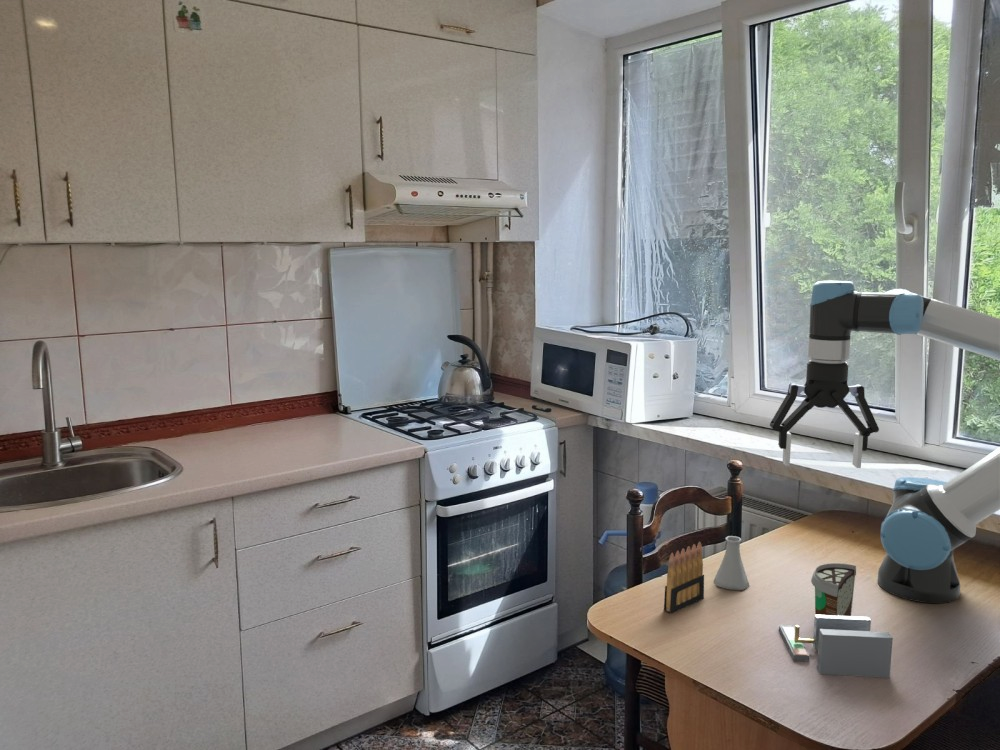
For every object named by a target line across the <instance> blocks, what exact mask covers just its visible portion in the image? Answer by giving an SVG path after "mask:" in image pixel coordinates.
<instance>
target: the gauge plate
mask: <svg viewBox="0 0 1000 750" xmlns="http://www.w3.org/2000/svg"><path fill="white" fill-rule="evenodd" d="M871 625H872V619H871V618H870V617H869V616H854V615H851V616H836V615H815V614H814V624H813V638H805V637H802V638H801V637H800V628H801V627H800V625H798V624H795V625H794V627H795V636H794V642H795V643H803V644H812V647H813V649H814V650H815V651H818V643H819V629H832V630H853V631H871ZM799 637H800V638H799Z"/></svg>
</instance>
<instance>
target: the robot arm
mask: <svg viewBox="0 0 1000 750" xmlns="http://www.w3.org/2000/svg"><path fill="white" fill-rule="evenodd" d="M809 306H810V307H809V309H810V310H809V311H810V312H809V333H808V347H807V348H808V349H807V358H809V360H808V361H807V362H806V375H805V376H806V378H805V384H804V385H802V384H796V383H794V382H790V383H789V385H788V389H787V394H786V395H785V398H784V399H783V401H782V403H781V404H780V405H779V407H778V409H777V411H775V412H776V413H775V414H774V416H773V418H772V420H771V421H770V423H769V427H770V428H771V429H772V430H774V431H776V432H778V447H779V448H780V449H781V450H782V464H783V465H784V466H786V467H790V466H791V465H790V464H791V450H792V449H791V448H792V433H791V432H790V430H791V429H792V428H793V427H794V426H795V425H796V424H797V423H798V422H799V421H800V420H801V418H803V417H804V416H805V415H806V414H807V413H808V412H809V411H810V410H812V408H814V407H816V408H822V409H823V408H828V409H829V408H830V409H835V408H836V407H838V408H839V409H840V410H842V412H843V413H844V415H845V416H846V417H847V418H848V420H850V422H851V423H852V424H853V426H854V427H855V428H856V429H857V431H858V432H854V439H853V450H852V451H853V453H852V463H851V464H852V466H854V467H855V468H856V469H861V468H862V457H863V456H862V455H863V452H865V451H867V449H868V442H869V441H868V440H869V437H870V436H871V434H874V433H879V431H880V428H879V426H878V422H877V421H876V419H875V417H874V414H873V412H872V411H871V410H872V409H871V408H870V406H869V404H868V403H869V402H868V401H867V399H866V397H865V396H866V395H865V387H864V386H862V385H861V384H859V383H856V384H854V385H848V380H849V379H848V377H849V365H850V364H849V363H848V362H847V361H848V360H849V359H850V350H851V349H850V347H851V333H852V332H867V333H877V334H878V333H882V334H893V335H894V334H895V335H899V336H900V335H917V336H921V337H924V338H928V339H929V340H930V339H931V340H932V341H936V342H939V343H942V344H945V345H949V346H952V347H954V348H959V349H960V350H965V351H967V352H971V353H973V354H977V355H979V356H984V357H987V358H989V359H992V360H996V361H999V362H1000V318H999V317H996V316H992V315H989V314H986V313H982V312H979V311H975V310H972V309H968V308H966V307H961V306H958V305H955V304H951V303H947V302H945V301H941V300H938V299H934V298H929V297H927V296H923V295H921V294H917V293H914V292H912V291H911V290H908V289H905V288H901V287H899V288H892V289H890V290H887V291H886V292H862V291H860V292H859V291H856V289H855V286H854V283H853V281H849V280H820V281H817V282H815V283H814V284H813V286H812V292H811V301H810V304H809ZM801 393H804V394H805V396H806V397H805V398H804V399H803V400H802V401H801V403H800V404H799V405H798V406H797V408H795V409H794V410H793V412H792V413H790V414H789V416H788V415H787V414H788V413H789V412H790V409H791V407H792V406H793V405H794V402H795V401H796V400H797V396H798V397H799V396H800V395H801ZM849 393H851V394H850V395H851V396H852V397H854V398H855V401H856V403H857V405H858V407H859V410H860V413H861V414H862V416H863V418H864V419H863V420H864V421H865V423H866V426H865V424H864V423H863V422H862V421H861V420H860V418H859V417H858V415H856V412H854V411H853V410H852V408H851V407H850V405H849V404H848V403H847V402H846V400H845V398H846V397H847V396H848V394H849ZM787 416H788V417H787ZM786 417H787V418H786ZM894 482H895V483H894V487H893V489H892V491H893V498H892V499H893V501H892V505H891V507H890V508H889V510H888V511H887V514H886V516H885V518H883V520H882V521H881V525H880V541H881V545H882V547H883V550H884V551H885V553H886V554H885V556H884V557H883V560H882V562H881V564H880V566H879V568H878V571H877V583H878V585H879V586H880V588H882V589H883V590H885V591H886V592H888V593H890V594H892V595H894V596H897V597H900V598H903V599H906V600H910V601H915V602H919V603H928V604H929V603H930V604H944V603H945V604H946V603H952V602H955V601H956V600H957V599H959V598H960V595H961V594H960V593H961V581H960V578H959V574H958V571H957V567H956V563H955V559H954V551H955V550H956V549H957V548H959V547H960V546H962V545H963V544H965V543H966V542H968V541H969V540H971V539H972V538H974V537H975V536H976V531H977V526H978V524H979V523H981V522H983V521H984V520H986V519H987V518H988V517H990V516H992V515H993V514H995V513H997V512H999V510H1000V446H999V447H998V448H996V449H994V450H993V451H992V452H989V454H986V455H985V456H984V457H983V458H981V459H980V460H978V461H977V462H975V463H973V464H972V465H971V466H969V467H968V468H966V469H965V470H964V471H962V472H960V473H958V474H957V475H956V476H954V477H953V478H952V479H950V480H948V481H943V480H938V479H932V478H924V477H915V476H913V477H911V476H905V477H904V476H903V477H899V478H897V479H896V480H895V481H894Z"/></svg>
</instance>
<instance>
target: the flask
mask: <svg viewBox="0 0 1000 750" xmlns="http://www.w3.org/2000/svg"><path fill="white" fill-rule="evenodd" d="M725 542H726V547H725V552H724V555H723V558H722V560H721V563H720V565H719V568H718V569H717V571H716V574H715V575H714V579H713V581H714V584H715V586H716V587H719V588H723V589H727V590H731V591H735V590H736V591H738V590H740V591H744V590H746V588H749V587H750V582H749V580H748V576H747V574H746V571H745V568H744V564H743V560H742V556H741V550H740V547H741V545H740V544H741V543H742V538H741V537H739V536H736V535H734V536H733V535H728V536H726V537H725Z"/></svg>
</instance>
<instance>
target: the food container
mask: <svg viewBox="0 0 1000 750" xmlns="http://www.w3.org/2000/svg"><path fill="white" fill-rule="evenodd" d="M856 576H857V565H855V564H854V565H853V564H850V563H849V564H848V563H841V562H840V563H839V562H836V563H835V562H834V563H823V564H820V565H818V566H817V567H816V568H815V570H814V571H813V573H812V576H811V579H810V581H811V582H810V583H811V584H812V586H813V587H814V608H815V609H814V611H815V613H814V616H815V615H836V616H852V608H853V601H854V600H853V599H854V593H855V591H854V589H855V580H856Z"/></svg>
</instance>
